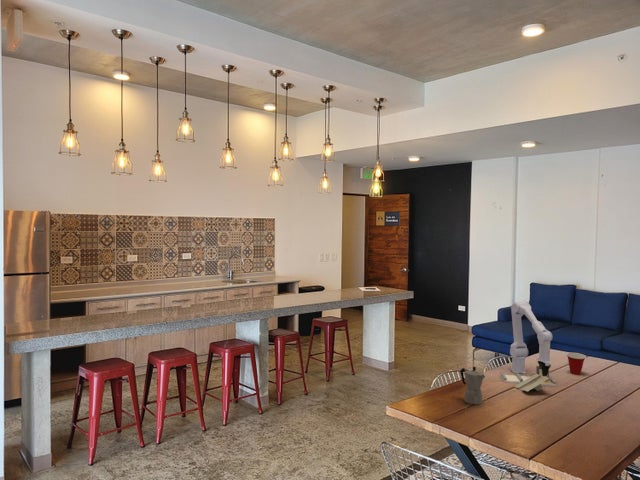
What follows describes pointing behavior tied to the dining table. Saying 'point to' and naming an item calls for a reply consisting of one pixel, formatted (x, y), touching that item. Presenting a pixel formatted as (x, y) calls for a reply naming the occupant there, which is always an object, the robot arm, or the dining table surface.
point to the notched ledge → (521, 378)
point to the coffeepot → (472, 385)
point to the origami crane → (532, 383)
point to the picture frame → (539, 371)
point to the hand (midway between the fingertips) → (543, 374)
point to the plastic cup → (575, 362)
